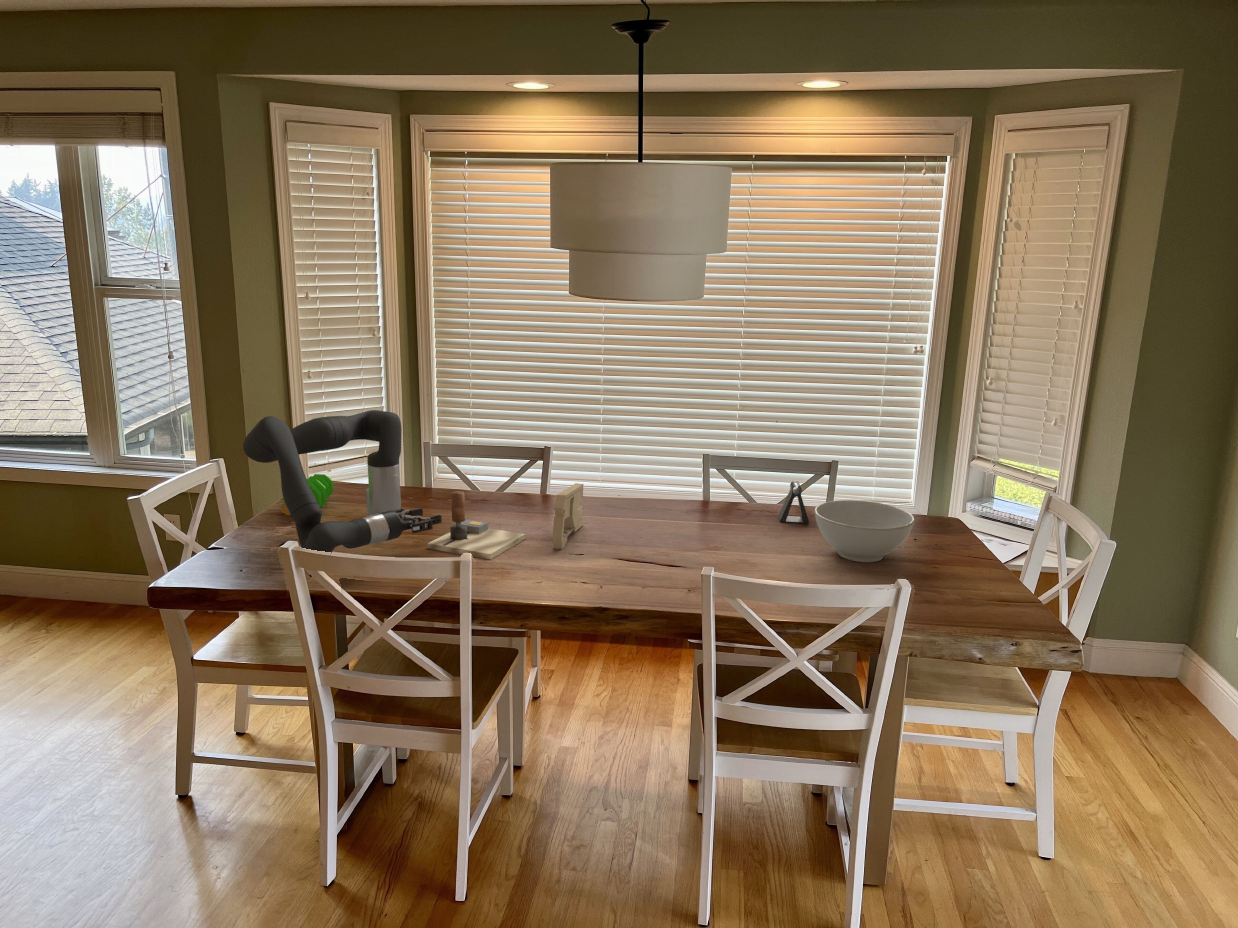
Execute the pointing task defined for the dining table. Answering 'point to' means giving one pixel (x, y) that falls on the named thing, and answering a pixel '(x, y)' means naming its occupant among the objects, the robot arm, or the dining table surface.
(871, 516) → the decorative bowl
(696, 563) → the dining table surface
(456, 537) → the wooden handled stamp
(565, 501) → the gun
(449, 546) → the subfloor panel
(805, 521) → the phone stand
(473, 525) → the block
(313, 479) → the decorative tree
